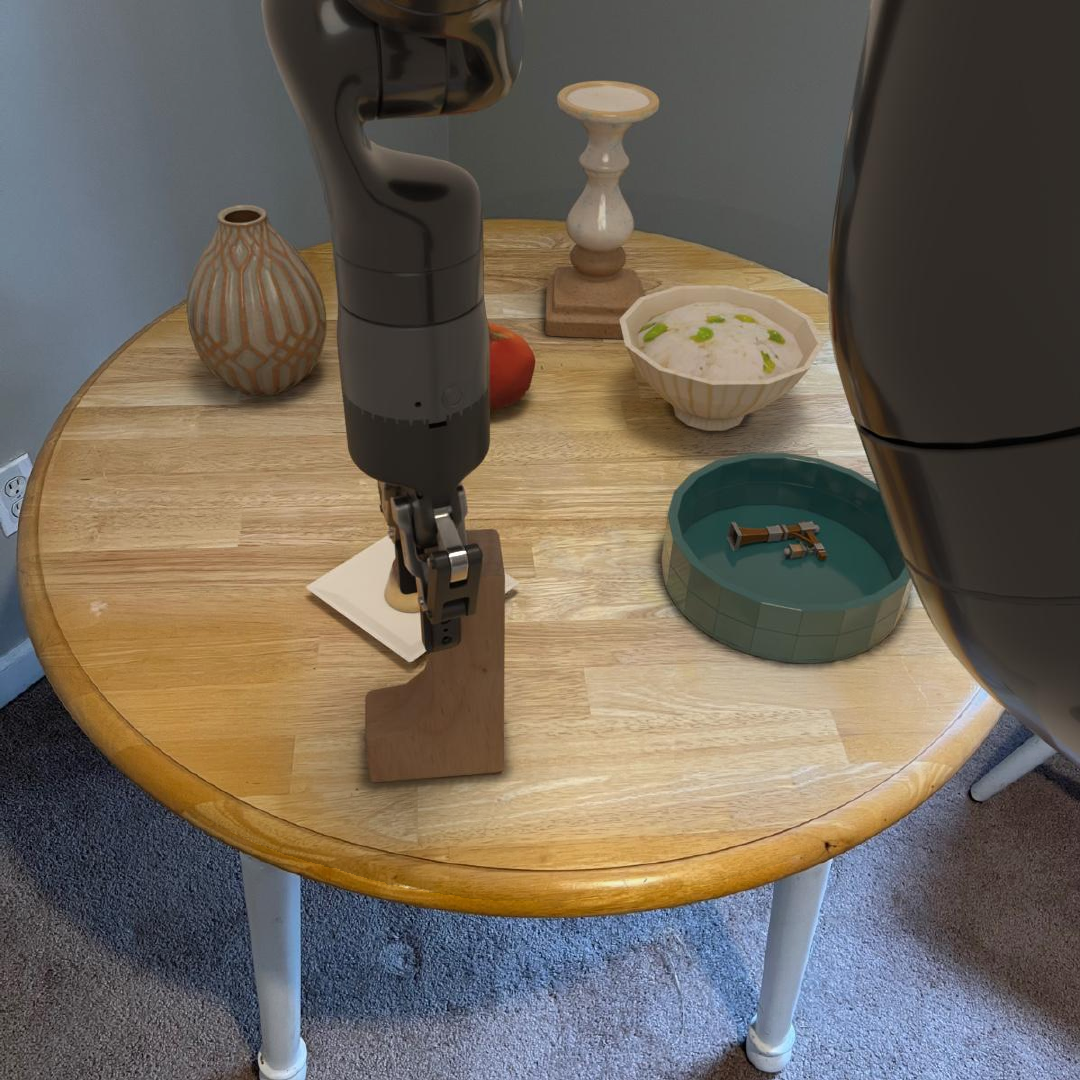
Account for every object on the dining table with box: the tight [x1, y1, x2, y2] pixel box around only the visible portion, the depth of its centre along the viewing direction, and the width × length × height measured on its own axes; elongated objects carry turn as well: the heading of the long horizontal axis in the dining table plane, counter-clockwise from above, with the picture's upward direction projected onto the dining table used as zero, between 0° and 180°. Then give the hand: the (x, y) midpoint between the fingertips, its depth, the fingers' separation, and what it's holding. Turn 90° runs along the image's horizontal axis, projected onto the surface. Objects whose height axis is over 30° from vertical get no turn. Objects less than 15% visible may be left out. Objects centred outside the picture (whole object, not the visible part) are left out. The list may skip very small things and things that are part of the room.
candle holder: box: [544, 80, 660, 340], centre depth 116 cm, size 11×11×24 cm
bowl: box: [619, 285, 825, 432], centre depth 105 cm, size 19×19×10 cm
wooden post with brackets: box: [727, 521, 827, 561], centre depth 92 cm, size 2×8×4 cm
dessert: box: [305, 534, 520, 663], centre depth 86 cm, size 12×12×5 cm
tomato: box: [488, 322, 536, 411], centre depth 107 cm, size 9×9×8 cm
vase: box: [186, 204, 328, 397], centre depth 105 cm, size 13×13×18 cm
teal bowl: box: [660, 452, 914, 664], centre depth 88 cm, size 20×20×6 cm
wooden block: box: [364, 528, 506, 783], centre depth 69 cm, size 9×4×18 cm, turn 97°
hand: (428, 615), depth 66 cm, fingers closed on wooden block, 4 cm apart
